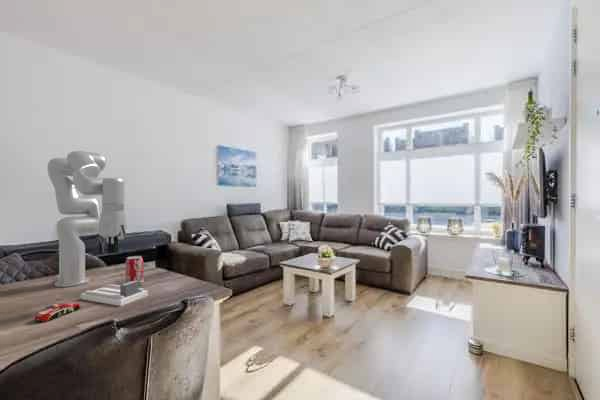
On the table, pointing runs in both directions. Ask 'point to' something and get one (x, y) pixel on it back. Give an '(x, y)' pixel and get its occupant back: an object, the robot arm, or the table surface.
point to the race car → (56, 311)
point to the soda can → (134, 269)
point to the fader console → (112, 295)
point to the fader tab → (129, 288)
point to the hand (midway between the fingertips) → (112, 252)
